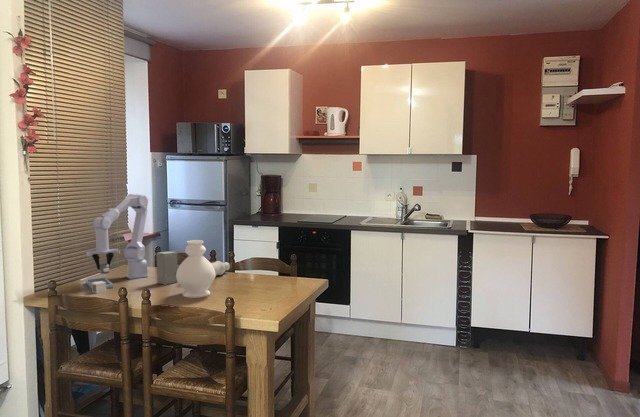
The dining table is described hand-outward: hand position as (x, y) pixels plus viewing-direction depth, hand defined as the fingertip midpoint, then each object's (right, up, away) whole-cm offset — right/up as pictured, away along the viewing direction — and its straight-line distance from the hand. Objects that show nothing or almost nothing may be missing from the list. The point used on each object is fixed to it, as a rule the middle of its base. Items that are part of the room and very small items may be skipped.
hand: (103, 268), depth 255 cm
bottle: (+49, -7, +17) cm, 53 cm away
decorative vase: (+50, -10, -14) cm, 53 cm away
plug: (0, -2, 0) cm, 2 cm away
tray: (-2, -9, +1) cm, 9 cm away
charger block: (+3, -10, -11) cm, 15 cm away
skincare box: (+30, -8, +7) cm, 32 cm away
